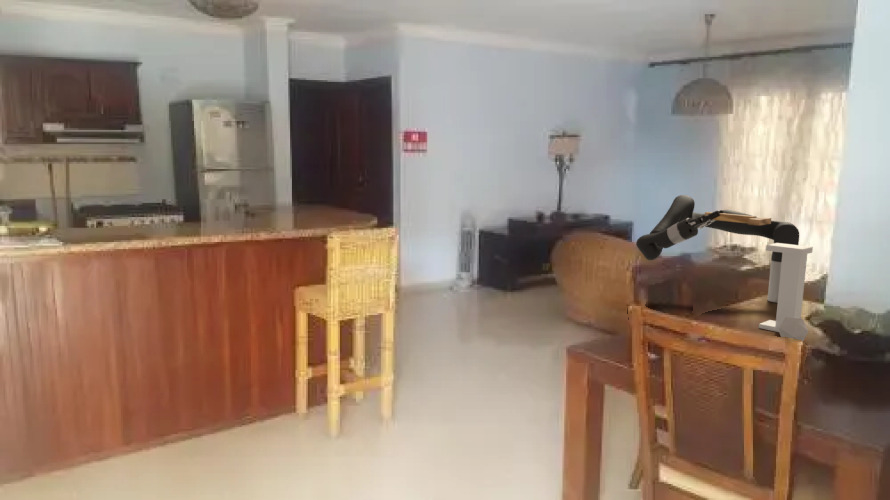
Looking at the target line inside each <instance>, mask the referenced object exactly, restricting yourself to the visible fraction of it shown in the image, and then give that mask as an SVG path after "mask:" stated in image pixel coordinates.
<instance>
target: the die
mask: <svg viewBox="0 0 890 500" xmlns="http://www.w3.org/2000/svg"><path fill="white" fill-rule="evenodd" d="M778 333H779V335H780V338H781V337H788V338H794V339H798V340H802V341H803V342H804V340H805V338H806V337H807V336H808V333H809V329H808V327H807V325H806V323H805V320H804V319H803V318H801V319H799V318H790V317H785V319H784V320H783V322H782V324H781V326H780V328H779V332H778Z"/></svg>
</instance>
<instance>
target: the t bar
mask: <svg viewBox="0 0 890 500" xmlns="http://www.w3.org/2000/svg"><path fill="white" fill-rule="evenodd" d="M713 212H714V211H705V212H704V214H705V215H709V214H711V213H713ZM756 217H757V216H756V215H752V216H747V215H737V214H726V213H720V216H719V217H716V218H714V219H712V220H720V221H730V222H740V223H748V224H749V225H758V226H759V225H766V224H771V221H772V217H763V216H760V217H758V218H756Z"/></svg>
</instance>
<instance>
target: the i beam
mask: <svg viewBox="0 0 890 500" xmlns="http://www.w3.org/2000/svg"><path fill="white" fill-rule="evenodd" d="M765 246H766V247H765V251H767V252H781V253H782V262H781V273H780V283H779V293H778V303H776V304H777V307H776V317H775V320H772V319H768V320H765V321H763V322H761V323H758V329H763V330H768V331H770V332H771V331H772V332H776V333H779V328H780V326H781V324H782V322H783V320H784V319H785V317H790V318H799V319H802V309H803V300H804V289H805V280H806V273H807V272H806V271H807V270H806V269H807V261H808V254H812V253H813V248H814V246H809V245H808V246H807V245H801V244H798V245H792V244H783V243H774V242H773V243H770V244H769V243H768V244H766V245H765Z"/></svg>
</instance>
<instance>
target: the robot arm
mask: <svg viewBox="0 0 890 500" xmlns="http://www.w3.org/2000/svg"><path fill="white" fill-rule="evenodd" d="M694 211H695V200H694V199H693V197H692V196H689V195H687V194H680V195H678V196H676V197H675V198H673V201H672V203H671V205H670V207H669V208H668V209H667V211H666V213H665V214H664V216H663V217H662V218H661V219H660V220H659V221H658V223H657V224H656V225H655V227H654V228H653V229H651V230H650V233H647V234H643V235H641V236H640V237H639V238H638V239H637V240H636V241H635V243H636V247H637V248H638V250H639V252H640V253H641V254H642V255H643V256H644V258H645V259H646V260H648V261H655V260H656V259H657V258H658V257H660V255H661V254H662V251H663V249H668V248H671V247H673V246H676V245H678V244H680V243H683V242H685V241H688V240H690V239H691V238H694V237H696V236H697V235H698V233H699V230H700V229H703V228H709V229H710V228H711V229H714V230H719V231H723V232H727V233H732V234H737V235H745V236H759V237H763V238H766V239H770V240H772V241H773V244H774V243H783V244H792V245H800V243H799V242H800V231H799V229H798V227H797V226H796V225H795V224H793V223H791V222H788V221H779V220H771V224H766V225H759V226H758V225H749V224H748V223H740V222H730V221H720V220H712V219H714V218H716V217H719V216H720V213H726V214H737V215H747V216H753V215H752V214H748V213H745V212H740V211H737V210H736V211H735V210H732V209H721V210H715V211H712V212H713V213H711V214H709V215H705V213H700V212H694ZM756 218H758V217H757V216H756ZM771 252H772V253H771V258H770V259H771V261H770V268H769V270H770V271H769V278H768V279H769V280H768V281H769V282H768V290H767V291H768V292H767V301H768V302H772V303H775V304H778V293H779V283H780V273H781V262H782V253H781V252H773V251H771Z"/></svg>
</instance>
